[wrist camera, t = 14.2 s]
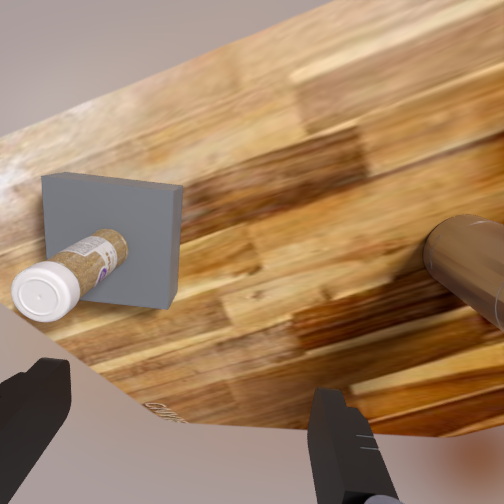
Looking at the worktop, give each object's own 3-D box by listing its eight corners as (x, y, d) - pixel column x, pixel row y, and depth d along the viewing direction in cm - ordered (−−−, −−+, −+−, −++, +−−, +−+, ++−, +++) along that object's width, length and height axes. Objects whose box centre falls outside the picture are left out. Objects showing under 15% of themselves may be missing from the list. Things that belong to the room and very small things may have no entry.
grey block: (183, 185, 42) (173, 191, 37) (177, 292, 46) (168, 309, 42) (65, 172, 42) (41, 176, 37) (70, 280, 46) (49, 296, 41)
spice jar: (128, 269, 40) (68, 329, 27) (88, 262, 40) (8, 319, 27) (131, 230, 39) (69, 274, 26) (89, 223, 39) (6, 264, 26)
